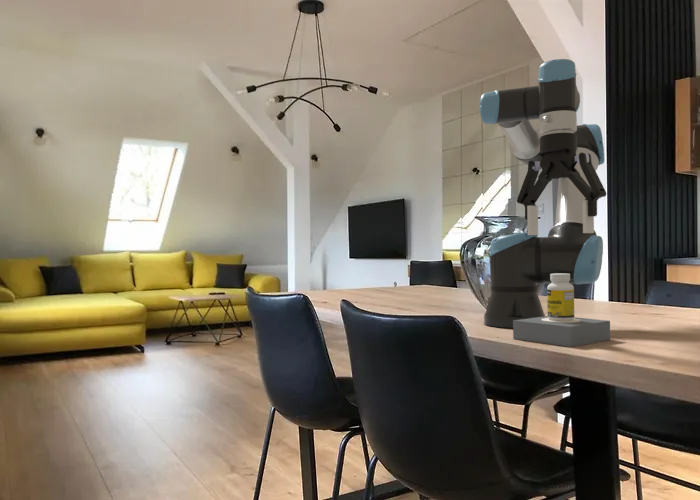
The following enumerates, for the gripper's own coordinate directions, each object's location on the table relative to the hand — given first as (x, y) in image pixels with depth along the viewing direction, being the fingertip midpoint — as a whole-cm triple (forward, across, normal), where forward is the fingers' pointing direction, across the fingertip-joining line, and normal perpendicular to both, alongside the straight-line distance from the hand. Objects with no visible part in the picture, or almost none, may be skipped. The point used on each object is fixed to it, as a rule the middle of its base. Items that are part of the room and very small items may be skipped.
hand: (559, 234), depth 126 cm
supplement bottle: (+18, 0, 0) cm, 18 cm away
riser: (+22, 0, 0) cm, 22 cm away
